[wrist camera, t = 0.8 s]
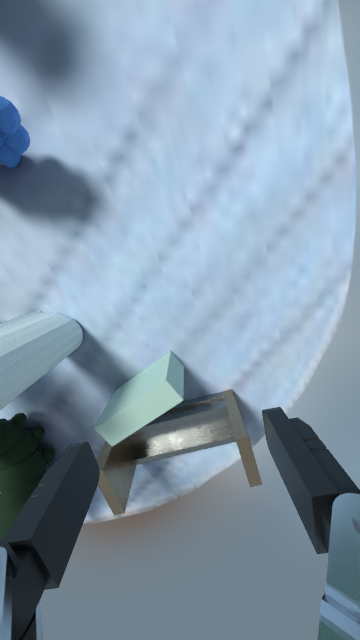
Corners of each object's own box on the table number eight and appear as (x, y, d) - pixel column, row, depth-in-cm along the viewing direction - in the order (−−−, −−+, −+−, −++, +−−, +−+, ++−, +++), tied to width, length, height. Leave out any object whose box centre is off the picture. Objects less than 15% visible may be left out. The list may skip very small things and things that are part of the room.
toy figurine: (-7, 399, 40) (48, 507, 44) (-181, 503, 21) (-58, 676, 25) (38, 386, 39) (90, 498, 43) (-104, 483, 20) (11, 666, 24)
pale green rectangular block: (129, 403, 37) (112, 446, 29) (115, 389, 37) (94, 429, 28) (184, 366, 35) (183, 400, 27) (170, 350, 35) (165, 380, 26)
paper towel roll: (88, 348, 35) (-54, 475, 14) (52, 352, 35) (-137, 483, 15) (76, 304, 33) (-109, 378, 12) (38, 310, 33) (-201, 390, 13)
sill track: (131, 454, 40) (114, 515, 31) (115, 419, 38) (91, 473, 29) (242, 427, 38) (262, 484, 28) (231, 389, 36) (248, 436, 26)
